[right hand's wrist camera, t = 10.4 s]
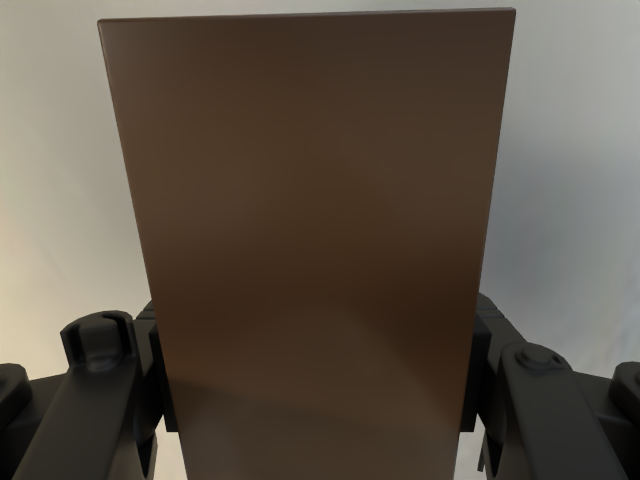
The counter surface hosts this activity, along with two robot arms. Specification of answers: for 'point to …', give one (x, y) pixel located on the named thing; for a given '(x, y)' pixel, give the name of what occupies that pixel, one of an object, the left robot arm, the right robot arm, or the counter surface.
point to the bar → (313, 228)
